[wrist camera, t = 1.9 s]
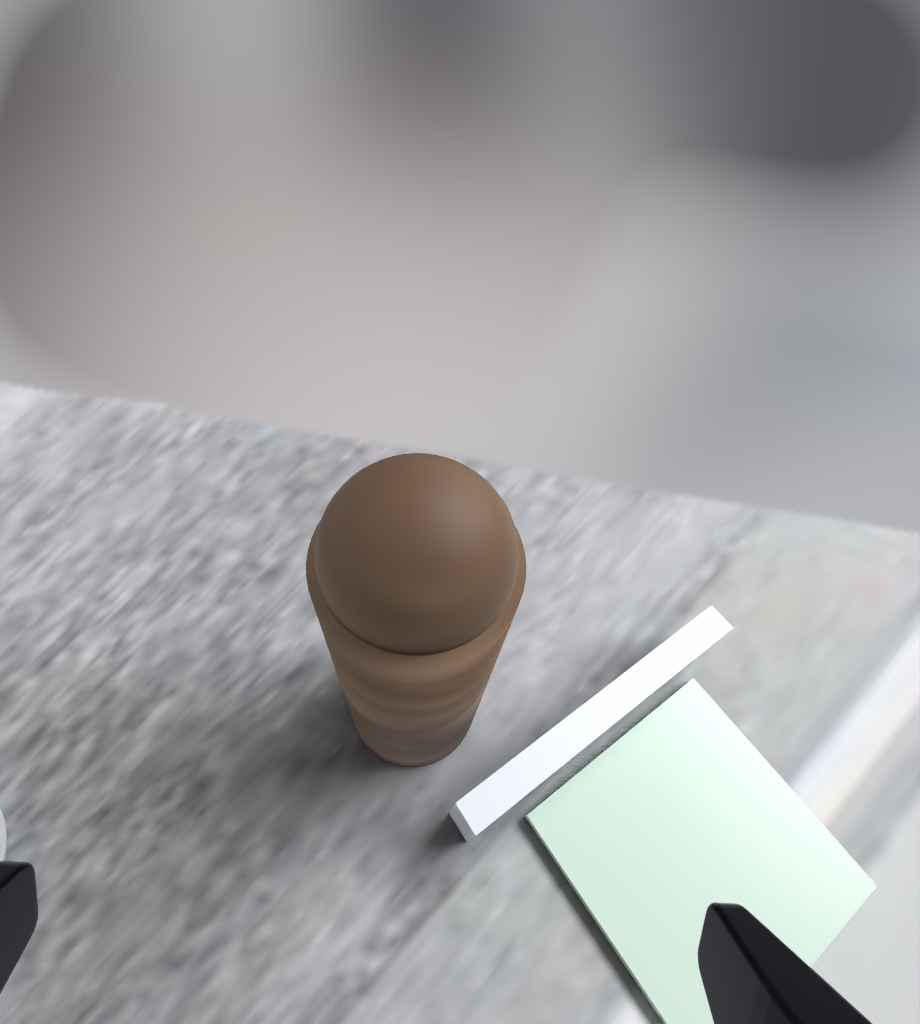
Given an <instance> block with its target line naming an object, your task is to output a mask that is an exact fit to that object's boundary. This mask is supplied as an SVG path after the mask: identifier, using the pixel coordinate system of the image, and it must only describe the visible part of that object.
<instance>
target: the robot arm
mask: <svg viewBox="0 0 920 1024" xmlns="http://www.w3.org/2000/svg"><path fill="white" fill-rule="evenodd" d="M37 919H38V903H37V891H36V880H35V871H34V868H33V866H32V865H31V864H30V863H27V862H12V861H0V993H1V992H2V990H3V988H4V986H5V984H6V982H7V980H8V979H9V977H10V975H11V973H12V971H13V969H14V968H15V966H16V964H17V962H18V960H19V958H20V957H21V955H22V953H23V951H24V949H25V947H26V946H27V944H28V942H29V940H30V938H31V936H32V934H33V932H34V929H35V927H36V923H37ZM698 965H699V971H700V975H701V978H702V982H703V986H704V989H705V993H706V996H707V1000H708V1004H709V1007H710V1011H711V1015H712V1018H713V1022H714V1024H872V1023H871V1022H870V1021H869V1020H868V1019H867V1018H865V1017H864V1016H863V1015H862V1014H861V1013H860V1012H859V1011H858V1010H857V1009H856V1008H854V1007H853V1006H852V1005H851V1004H850V1003H849V1002H848V1001H847V1000H846V999H845V998H844V997H842V996H841V995H840V994H839V993H838V992H837V991H836V990H835V989H834V988H833V987H831V986H830V985H829V984H828V983H827V982H826V981H825V980H824V979H823V978H822V977H821V976H819V975H818V974H817V973H816V972H815V971H814V970H813V969H812V968H811V967H810V966H808V965H807V964H806V963H805V962H804V961H803V960H802V959H801V958H800V957H799V956H797V955H796V954H795V953H794V952H793V951H792V950H791V949H790V948H789V947H788V946H787V945H785V944H784V943H783V942H782V941H781V940H780V939H779V938H778V937H777V936H776V935H774V934H773V933H772V932H771V931H770V930H769V929H768V928H767V927H766V926H765V925H763V924H762V923H761V922H760V921H759V920H758V919H757V918H756V917H755V916H754V915H753V914H751V913H750V912H749V911H748V910H747V909H746V908H744V907H743V906H741V905H739V904H735V903H719V902H714V903H711V904H710V905H709V906H708V908H707V911H706V914H705V919H704V924H703V928H702V933H701V937H700V942H699V946H698Z"/></svg>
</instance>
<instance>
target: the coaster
mask: <svg viewBox="0 0 920 1024" xmlns="http://www.w3.org/2000/svg"><path fill="white" fill-rule="evenodd" d="M525 818H526V819H527V821H528V822H529V824H530V825H531V827H532V828H533V830H534V831H535V832H536V834H537V835H538V837H539V838H540V840H541V841H542V843H543V844H544V846H545V847H546V849H547V850H548V852H549V853H550V855H551V856H552V858H553V859H554V861H555V862H556V864H557V865H558V867H559V868H560V870H561V871H562V873H563V874H564V876H565V877H566V879H567V880H568V882H569V883H570V885H571V886H572V888H573V889H574V891H575V892H576V894H577V895H578V897H579V898H580V900H581V901H582V903H583V904H584V906H585V907H586V909H587V910H588V912H589V913H590V915H591V916H592V918H593V919H594V921H595V922H596V923H597V925H598V926H599V928H600V929H601V931H602V932H603V934H604V935H605V937H606V938H607V940H608V941H609V943H610V944H611V946H612V947H613V949H614V950H615V952H616V953H617V955H618V956H619V958H620V959H621V961H622V962H623V964H624V965H625V967H626V968H627V970H628V971H629V973H630V974H631V976H632V977H633V979H634V980H635V982H636V983H637V985H638V986H639V988H640V989H641V991H642V992H643V994H644V995H645V997H646V998H647V1000H648V1001H649V1003H650V1004H651V1006H652V1007H653V1009H654V1010H655V1012H656V1013H657V1014H658V1016H659V1017H660V1019H661V1020H662V1022H663V1023H664V1024H714V1022H713V1018H712V1015H711V1011H710V1007H709V1004H708V1000H707V996H706V993H705V989H704V986H703V982H702V978H701V975H700V971H699V965H698V946H699V942H700V937H701V933H702V928H703V924H704V919H705V914H706V911H707V908H708V906H709V905H710V904H711V903H714V902H719V903H735V904H739V905H741V906H743V907H744V908H746V909H747V910H748V911H749V912H750V913H751V914H753V915H754V916H755V917H756V918H757V919H758V920H759V921H760V922H761V923H762V924H763V925H765V926H766V927H767V928H768V929H769V930H770V931H771V932H772V933H773V934H774V935H776V936H777V937H778V938H779V939H780V940H781V941H782V942H783V943H784V944H785V945H787V946H788V947H789V948H790V949H791V950H792V951H793V952H794V953H795V954H796V955H797V956H799V957H800V958H801V959H802V960H803V961H804V962H805V963H806V964H807V965H808V966H810V967H811V966H812V964H813V963H814V962H815V961H816V960H817V958H818V957H819V956H820V955H821V953H822V952H823V951H824V950H825V949H826V947H827V946H828V945H829V944H830V943H831V941H832V940H833V939H834V938H835V937H836V935H837V934H838V933H839V932H840V930H841V929H842V928H843V927H844V926H845V924H846V923H847V922H848V921H849V920H850V918H851V917H852V916H853V915H854V914H855V912H856V911H857V910H858V909H859V907H860V906H861V905H862V904H863V903H864V901H865V900H866V899H867V898H868V897H869V895H870V894H871V893H872V892H873V891H874V889H875V888H876V887H877V885H876V884H875V883H874V882H873V881H872V880H871V878H870V877H869V876H868V875H867V874H866V873H865V872H864V871H863V869H862V868H861V867H860V866H859V865H858V864H857V863H856V862H855V860H854V859H853V858H852V857H851V856H850V855H849V854H848V852H847V851H846V850H845V849H844V848H843V847H842V846H841V845H840V843H839V842H838V841H837V840H836V839H835V838H834V837H833V835H832V834H831V833H830V832H829V831H828V830H827V829H826V828H825V826H824V825H823V824H822V823H821V822H820V821H819V820H818V818H817V817H816V816H815V815H814V814H813V813H812V812H811V811H810V809H809V808H808V807H807V806H806V805H805V804H804V803H803V802H802V800H801V799H800V798H799V797H798V796H797V795H796V794H795V792H794V791H793V790H792V789H791V788H790V787H789V786H788V785H787V783H786V782H785V781H784V780H783V779H782V778H781V777H780V775H779V774H778V773H777V772H776V771H775V770H774V769H773V768H772V766H771V765H770V764H769V763H768V762H767V761H766V760H765V759H764V757H763V756H762V755H761V754H760V753H759V752H758V751H757V749H756V748H755V747H754V746H753V745H752V744H751V743H750V742H749V740H748V739H747V738H746V737H745V736H744V735H743V734H742V732H741V731H740V730H739V729H738V728H737V727H736V726H735V725H734V723H733V722H732V721H731V720H730V719H729V718H728V717H727V715H726V714H725V713H724V712H723V711H722V710H721V709H720V708H719V706H718V705H717V704H716V703H715V702H714V701H713V700H712V699H711V697H710V696H709V695H708V694H707V693H706V692H705V691H704V689H703V688H702V687H701V686H700V685H699V684H698V683H697V682H696V680H695V679H694V678H693V679H691V680H690V681H689V682H687V683H686V684H685V685H684V686H682V687H681V688H680V689H679V690H678V691H676V692H675V693H674V694H673V695H672V696H670V697H669V698H668V699H667V700H665V701H664V702H663V703H662V704H661V705H659V706H658V707H657V708H656V709H655V710H653V711H652V712H651V713H650V714H648V715H647V716H646V717H645V718H644V719H642V720H641V721H640V722H639V723H638V724H636V725H635V726H634V727H633V728H632V729H630V730H629V731H628V732H627V733H625V734H624V735H623V736H622V737H621V738H619V739H618V740H617V741H616V742H615V743H613V744H612V745H611V746H610V747H608V748H607V749H606V750H605V751H604V752H602V753H601V754H600V755H599V756H598V757H596V758H595V759H594V760H593V761H591V762H590V763H589V764H588V765H587V766H585V767H584V768H583V769H582V770H581V771H579V772H578V773H577V774H576V775H574V776H573V777H572V778H571V779H570V780H568V781H567V782H566V783H565V784H564V785H562V786H561V787H560V788H559V789H557V790H556V791H555V792H554V793H553V794H551V795H550V796H549V797H548V798H547V799H545V800H544V801H543V802H542V803H540V804H539V805H538V806H537V807H536V808H534V809H533V810H532V811H531V812H530V813H528V814H527V815H526V816H525Z"/></svg>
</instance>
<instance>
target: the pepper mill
mask: <svg viewBox="0 0 920 1024" xmlns="http://www.w3.org/2000/svg"><path fill="white" fill-rule="evenodd" d="M306 578H307V583H308V589H309V593H310V596H311V599H312V602H313V605H314V608H315V611H316V614H317V616H318V619H319V622H320V625H321V628H322V631H323V634H324V637H325V640H326V643H327V646H328V649H329V652H330V655H331V657H332V660H333V663H334V666H335V669H336V672H337V675H338V678H339V681H340V684H341V687H342V690H343V693H344V696H345V698H346V701H347V704H348V707H349V710H350V713H351V716H352V719H353V722H354V725H355V728H356V730H357V732H358V734H359V736H360V738H361V740H362V741H363V742H364V744H365V745H366V746H367V747H368V748H369V749H370V751H372V752H373V753H374V754H375V755H376V756H378V757H380V758H381V759H383V760H385V761H387V762H389V763H392V764H395V765H399V766H406V767H418V766H424V765H428V764H431V763H434V762H436V761H438V760H441V759H442V758H444V757H446V756H447V755H449V754H450V753H451V752H452V751H453V750H455V748H456V747H457V746H458V745H459V744H460V743H461V742H462V740H463V739H464V737H465V736H466V734H467V732H468V730H469V728H470V725H471V723H472V720H473V718H474V715H475V713H476V710H477V708H478V705H479V703H480V700H481V698H482V695H483V693H484V690H485V688H486V685H487V683H488V680H489V678H490V675H491V673H492V670H493V668H494V665H495V663H496V660H497V658H498V655H499V653H500V650H501V648H502V645H503V643H504V640H505V638H506V635H507V633H508V630H509V628H510V625H511V623H512V620H513V618H514V615H515V613H516V610H517V608H518V605H519V602H520V599H521V597H522V594H523V590H524V585H525V580H526V559H525V552H524V548H523V544H522V541H521V538H520V535H519V533H518V530H517V529H516V527H515V525H514V522H513V520H512V517H511V515H510V512H509V510H508V508H507V506H506V504H505V503H504V501H503V499H502V498H501V497H500V495H499V494H498V493H497V491H496V490H495V489H494V488H493V487H492V486H491V485H490V483H489V482H488V481H487V480H486V479H484V478H483V477H482V476H481V475H479V474H478V473H477V472H475V471H474V470H472V469H470V468H469V467H467V466H465V465H463V464H461V463H459V462H457V461H455V460H452V459H449V458H446V457H442V456H438V455H432V454H421V453H412V454H402V455H397V456H392V457H389V458H385V459H382V460H380V461H378V462H375V463H373V464H371V465H369V466H367V467H366V468H364V469H362V470H360V471H359V472H358V473H356V474H355V475H354V476H352V477H351V478H350V479H349V480H348V481H347V482H346V483H345V484H344V485H343V486H342V487H341V488H340V489H339V490H338V492H337V493H336V494H335V495H334V497H333V498H332V500H331V501H330V503H329V504H328V506H327V508H326V510H325V512H324V515H323V517H322V519H321V521H320V522H319V524H318V525H317V527H316V529H315V532H314V534H313V536H312V538H311V542H310V545H309V549H308V554H307V562H306Z"/></svg>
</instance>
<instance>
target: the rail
mask: <svg viewBox="0 0 920 1024" xmlns="http://www.w3.org/2000/svg"><path fill="white" fill-rule="evenodd" d="M732 628H733V627H732V626H731V625H730V624H729V623H728V622H727V621H726V620H725V619H724V618H723V617H722V616H721V615H720V614H719V612H718V611H717V610H716V609H715V608H714V607H713V606H712V605H711V606H710V607H709V608H707V609H706V610H705V611H703V612H702V613H701V614H700V615H698V616H697V617H696V618H694V619H693V620H692V621H691V622H689V623H688V624H687V625H685V626H684V627H683V628H681V629H680V630H679V631H678V632H676V633H675V634H674V635H672V636H671V637H670V638H668V639H667V640H666V641H665V642H663V643H662V644H661V645H659V646H658V647H657V648H656V649H654V650H653V651H652V652H650V653H649V654H648V655H646V656H645V657H644V658H643V659H641V660H640V661H639V662H637V663H636V664H635V665H633V666H632V667H631V668H630V669H628V670H627V671H626V672H624V673H623V674H622V675H621V676H619V677H618V678H617V679H615V680H614V681H613V682H611V683H610V684H609V685H608V686H606V687H605V688H604V689H602V690H601V691H600V692H599V693H597V694H596V695H595V696H593V697H592V698H591V699H589V700H588V701H587V702H586V703H584V704H583V705H582V706H580V707H579V708H578V709H576V710H575V711H574V712H573V713H571V714H570V715H569V716H567V717H566V718H565V719H564V720H562V721H561V722H560V723H558V724H557V725H556V726H554V727H553V728H552V729H551V730H549V731H548V732H547V733H545V734H544V735H543V736H541V737H540V738H539V739H538V740H536V741H535V742H534V743H532V744H531V745H530V746H529V747H527V748H526V749H525V750H523V751H522V752H521V753H519V754H518V755H517V756H516V757H514V758H513V759H512V760H510V761H509V762H508V763H506V764H505V765H504V766H503V767H501V768H500V769H499V770H497V771H496V772H495V773H494V774H492V775H491V776H490V777H488V778H487V779H486V780H484V781H483V782H482V783H481V784H479V785H478V786H477V787H475V788H474V789H473V790H472V791H470V792H469V793H468V794H466V795H465V796H464V797H462V798H461V799H460V800H459V801H457V802H456V803H455V804H454V806H453V808H452V809H451V811H450V813H449V814H450V816H451V817H452V819H453V820H454V822H455V824H456V825H457V827H458V829H459V830H460V832H461V833H462V835H463V837H464V838H465V840H466V842H467V841H469V840H470V839H472V838H473V837H475V836H476V835H477V834H479V833H480V832H481V831H482V830H484V829H485V828H486V827H487V826H489V825H490V824H491V823H492V822H494V821H495V820H496V819H497V818H499V817H500V816H501V815H502V814H503V813H505V812H506V811H507V810H508V809H510V808H511V807H512V806H513V805H515V804H516V803H517V802H518V801H520V800H521V799H522V798H523V797H525V796H526V795H527V794H528V793H529V792H531V791H532V790H533V789H534V788H536V787H537V786H538V785H539V784H541V783H542V782H543V781H544V780H546V779H547V778H548V777H549V776H550V775H552V774H553V773H554V772H555V771H557V770H558V769H559V768H560V767H562V766H563V765H564V764H565V763H567V762H568V761H569V760H570V759H572V758H573V757H574V756H575V755H576V754H578V753H579V752H580V751H581V750H583V749H584V748H585V747H586V746H588V745H589V744H590V743H591V742H593V741H594V740H595V739H596V738H598V737H599V736H600V735H601V734H602V733H604V732H605V731H606V730H607V729H609V728H610V727H611V726H612V725H614V724H615V723H616V722H617V721H619V720H620V719H621V718H622V717H623V716H625V715H626V714H627V713H628V712H630V711H631V710H632V709H633V708H635V707H636V706H637V705H638V704H640V703H641V702H642V701H643V700H645V699H646V698H647V697H648V696H649V695H651V694H652V693H653V692H654V691H656V690H657V689H658V688H659V687H661V686H662V685H663V684H664V683H666V682H667V681H668V680H669V679H671V678H672V677H673V676H674V675H675V674H677V673H678V672H679V671H680V670H682V669H683V668H684V667H685V666H687V665H688V664H689V663H690V662H692V661H693V660H694V659H695V658H696V657H698V656H699V655H700V654H701V653H703V652H704V651H705V650H706V649H708V648H709V647H710V646H711V645H713V644H714V643H715V642H716V641H718V640H719V639H720V638H721V637H722V636H724V635H725V634H726V633H727V632H729V631H730V630H731V629H732Z"/></svg>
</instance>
